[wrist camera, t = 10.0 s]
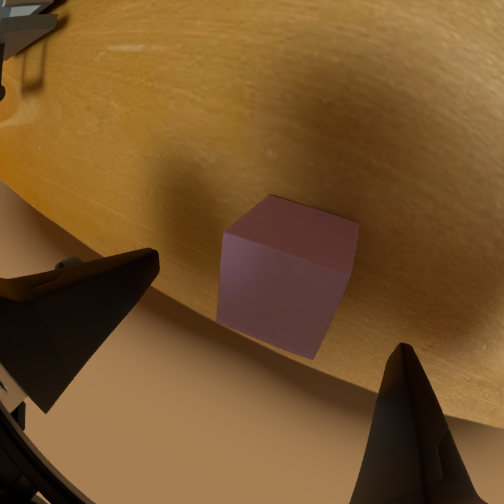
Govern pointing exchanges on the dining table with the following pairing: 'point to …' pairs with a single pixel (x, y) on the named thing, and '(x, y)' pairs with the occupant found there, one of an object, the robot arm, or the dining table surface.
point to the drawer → (21, 27)
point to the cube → (285, 273)
